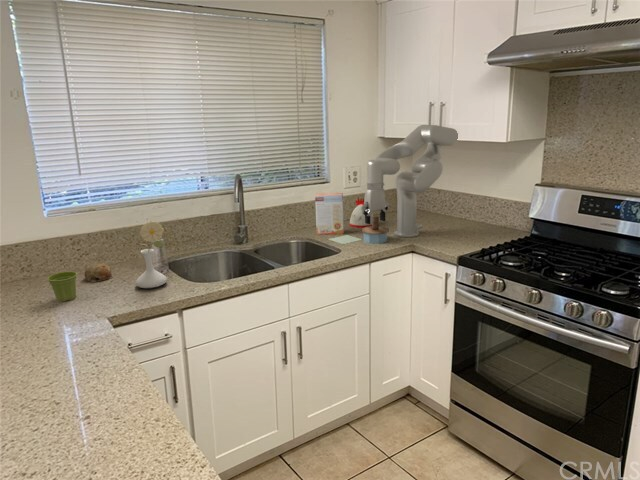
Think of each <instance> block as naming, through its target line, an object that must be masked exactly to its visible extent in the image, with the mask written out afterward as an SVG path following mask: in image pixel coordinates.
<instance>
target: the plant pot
mask: <svg viewBox="0 0 640 480" xmlns="http://www.w3.org/2000/svg"><path fill="white" fill-rule="evenodd" d="M77 276H78V272H76V271H63V272H62V271H61V272H57V273H54V274H51V275H49V276H48V277H47V278H46V279H47V281H48V282H49V284H50V285H51V288H52V290H53V293H54V296H55V299H56V300H57V301H58V302H62V301H64V302H66V301H72V300H73V299H76V298H77V287H76V285H77V283H76V281H77V280H76V279H77Z"/></svg>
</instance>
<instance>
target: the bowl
mask: <svg viewBox="0 0 640 480" xmlns="http://www.w3.org/2000/svg"><path fill="white" fill-rule="evenodd" d="M362 233H363V232H362ZM363 242H364V243H368V244H384V243H387V242H388V233H385V234H366V233H363Z"/></svg>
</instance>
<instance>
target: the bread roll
mask: <svg viewBox="0 0 640 480" xmlns="http://www.w3.org/2000/svg"><path fill="white" fill-rule="evenodd" d="M110 277H111V278H112V270H111V267H110V265H107V264H105V263H102V262H96V263H94V264H91V265H90V266H89V267H87V268H86V269H85V271H84V279H85V280H86V281H88V282H89V281H91V282H90V283H95V282H96V281H98V282H102V280H104V281H107V280H106V279H108V280H109V278H110ZM111 278H110V279H111ZM96 283H97V282H96Z"/></svg>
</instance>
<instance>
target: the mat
mask: <svg viewBox="0 0 640 480" xmlns="http://www.w3.org/2000/svg"><path fill="white" fill-rule="evenodd" d="M328 240H329V241H332V242H335V243H338V244H341V245H345V244H349V243H355V242H358V241H363V239H362V238H358V237H355V236H352V235H348V234H345V235H340V236H337V237H336V236H335V237H332V238H328Z"/></svg>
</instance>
